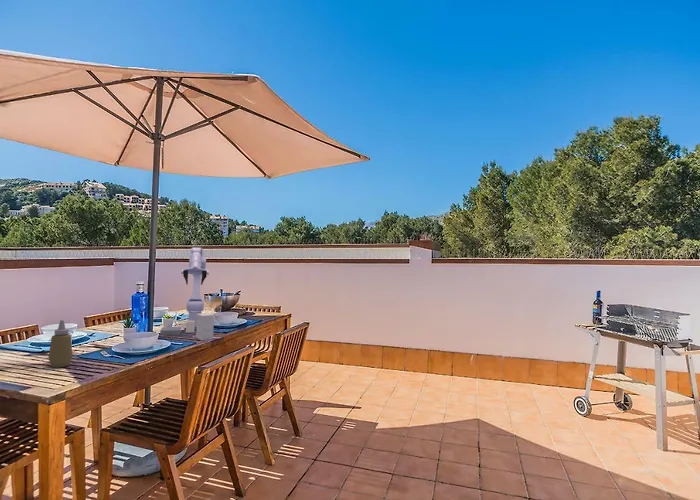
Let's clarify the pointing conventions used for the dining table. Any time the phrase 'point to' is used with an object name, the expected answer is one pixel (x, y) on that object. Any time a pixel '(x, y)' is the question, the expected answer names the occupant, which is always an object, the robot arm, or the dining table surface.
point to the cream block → (190, 326)
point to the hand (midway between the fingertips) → (194, 283)
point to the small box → (205, 326)
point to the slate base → (170, 331)
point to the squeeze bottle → (60, 347)
